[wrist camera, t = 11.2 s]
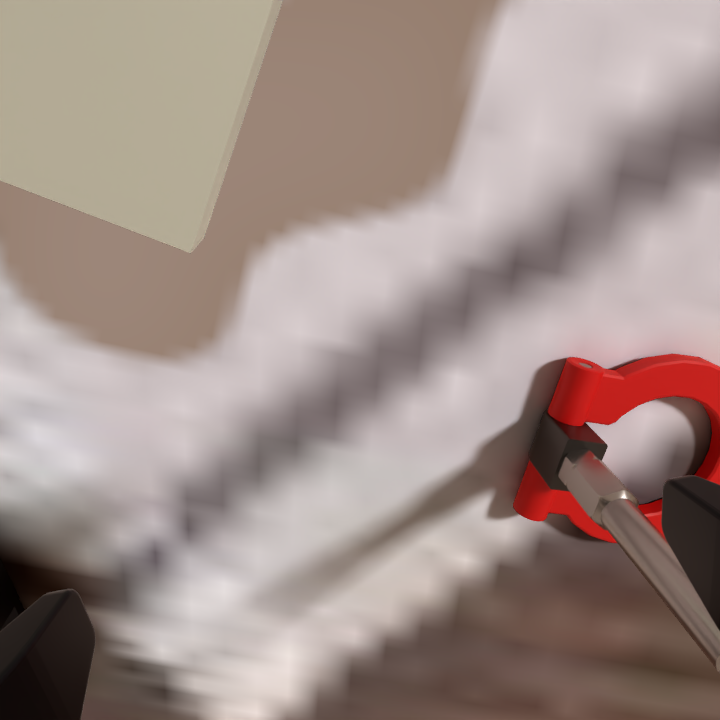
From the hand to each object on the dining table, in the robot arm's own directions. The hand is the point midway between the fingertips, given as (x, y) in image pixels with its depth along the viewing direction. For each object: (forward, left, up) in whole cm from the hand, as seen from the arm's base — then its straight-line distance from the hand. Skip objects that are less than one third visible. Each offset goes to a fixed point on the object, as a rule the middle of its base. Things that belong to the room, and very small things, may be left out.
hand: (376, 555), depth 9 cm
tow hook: (+11, -8, -13) cm, 19 cm away
